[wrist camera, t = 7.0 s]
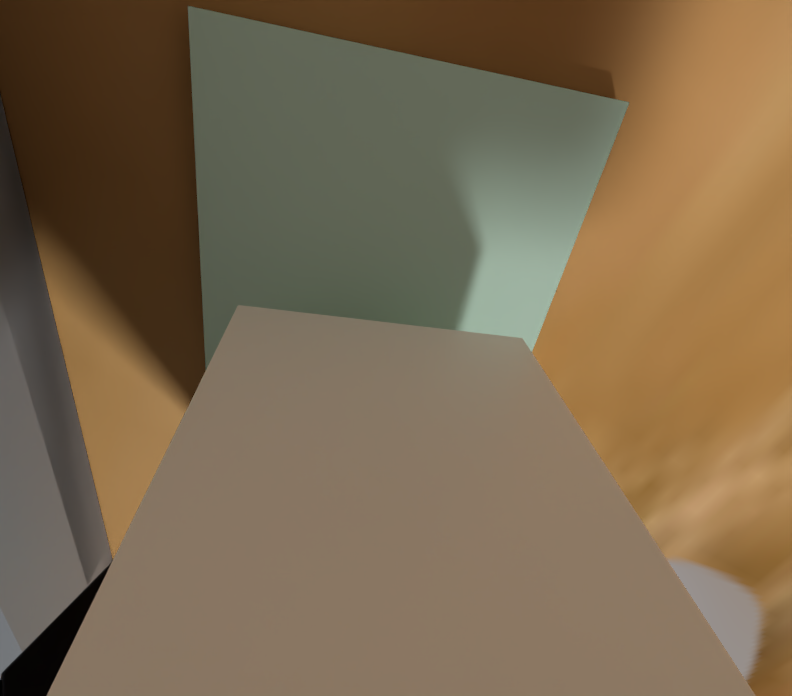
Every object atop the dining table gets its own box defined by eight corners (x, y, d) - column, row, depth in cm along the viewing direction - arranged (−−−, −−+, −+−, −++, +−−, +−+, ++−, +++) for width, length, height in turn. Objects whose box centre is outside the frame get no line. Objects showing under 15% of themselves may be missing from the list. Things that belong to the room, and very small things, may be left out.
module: (446, 543, 11) (534, 975, 6) (238, 536, 10) (117, 1033, 5) (522, 338, 8) (851, 843, 3) (238, 304, 7) (-72, 936, 2)
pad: (438, 573, 15) (441, 585, 14) (219, 568, 14) (216, 580, 13) (617, 101, 8) (629, 102, 7) (196, 9, 7) (187, 5, 6)
